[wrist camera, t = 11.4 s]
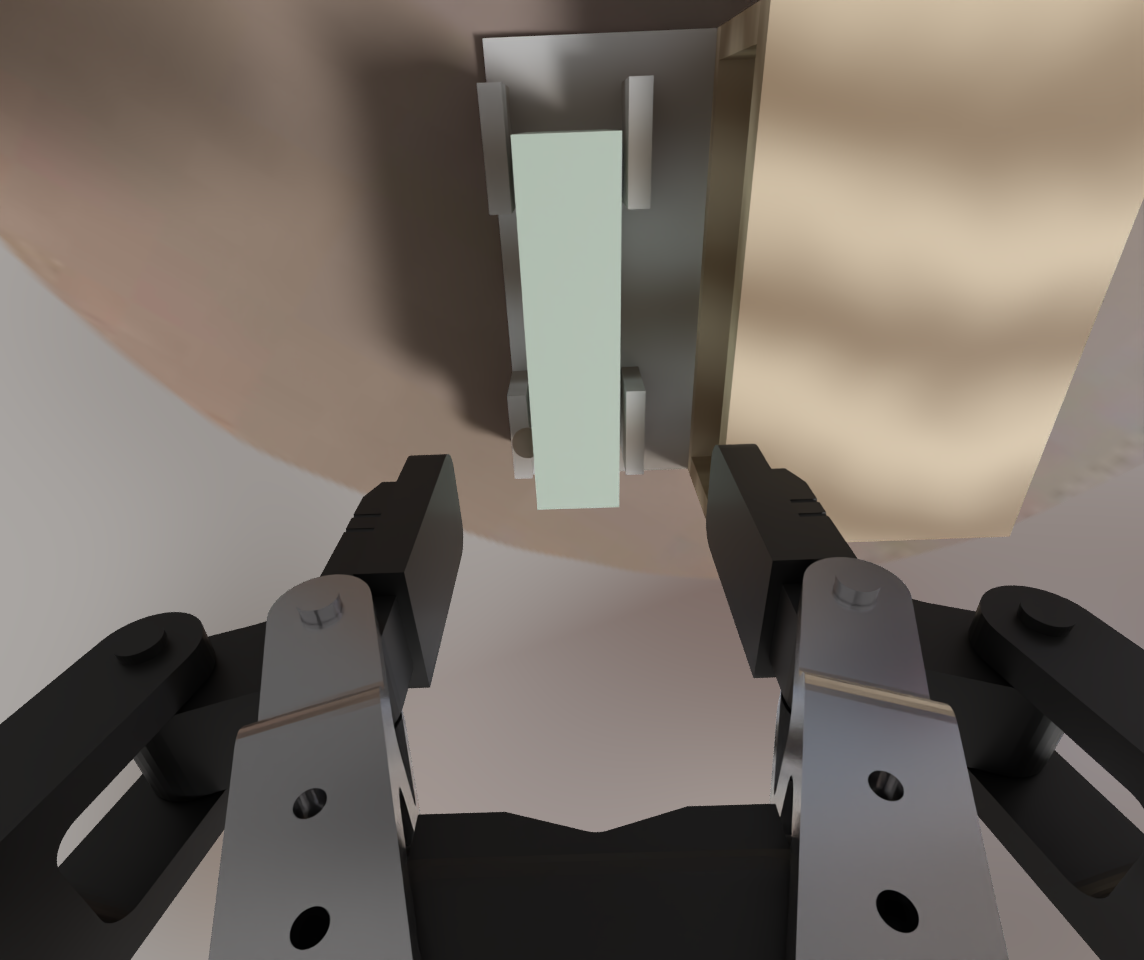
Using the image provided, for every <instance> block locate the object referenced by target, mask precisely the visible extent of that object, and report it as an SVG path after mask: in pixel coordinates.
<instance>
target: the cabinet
mask: <svg viewBox="0 0 1144 960" xmlns="http://www.w3.org/2000/svg"><path fill="white" fill-rule="evenodd" d="M482 39H483V50H484V61H485V72H486V83H477V92H478V102H479V112H480V123H481V133H482V143H483V154H484V164H485V174H486V184H487V195H488V205H489V215H498V217H499V228H500V239H501V250H502V261H503V272H504V283H505V294H506V305H507V317H508V328H509V339H510V350H511V361H512V375H511V380H510V385H509V389H508V394H507V401H508V412H509V422H510V432H511V443H512V440H513V437H514V435H515V433H516V432H517V431H518V430H520V429H522V428H532V426H531V412H530V398H529V384H528V370H527V356H526V343H525V329H524V315H523V301H522V287H521V273H520V259H519V245H518V231H517V217H516V204H515V190H514V176H513V162H512V148H511V135H512V134H518V133H525V132H546V131H573V130H600V129H608V130H621V131H622V214H621V337H620V460H619V471H625V473H626V475H633V474H644V470H667V469H688V471H689V473H690V476H691V479H692V482H693V485H694V487H695V490H696V493H697V496H698V499H699V501H700V504H701V507H702V510H703V513H704V516H705V518H706V513H707V502H708V490H709V479H710V468H711V458H712V452H713V448H714V446H715V445H728V444H756V445H757V446H758V447H759V449H760V451H761V452H762V454H763V456H764V457H765V459H766V461H767V462H768V464H769V466H770V467H771V469H776V468H786V469H787V470H789V471H790V472H792V473H793V474H795V475H796V476H798V477H799V478H801V479H802V480H804V481H805V482H806V483H807V484H808V486H809V487H810V489H811V490H812V492H813V493H814V495H815V496H816V498H817V502H820V504H821V505H822V507H823V508H824V510H825V511H826V516H829V517H830V519H831V520H832V522H833V523H834V525H835V526H836V528H837V529H838V531H839V532H840V534H841V535H842V536H843V538H844V539H845V541H846V542H866V541H895V540H923V539H952V538H980V537H1005V536H1006V537H1008V536H1010V534H1011V531H1012V529H1013V526H1014V524H1015V521H1016V519H1017V516H1018V514H1019V511H1020V509H1021V506H1022V504H1023V501H1024V499H1025V496H1026V494H1027V491H1028V488H1029V486H1030V483H1031V481H1032V478H1033V476H1034V473H1035V471H1036V468H1037V466H1038V463H1039V461H1040V458H1041V456H1042V453H1043V451H1044V448H1045V446H1046V443H1047V441H1048V438H1049V435H1050V433H1051V430H1052V428H1053V425H1054V423H1055V420H1056V418H1057V415H1058V413H1059V410H1060V408H1061V405H1062V403H1063V400H1064V398H1065V395H1066V393H1067V390H1068V388H1069V385H1070V382H1071V380H1072V377H1073V375H1074V372H1075V370H1076V367H1077V365H1078V362H1079V360H1080V357H1081V355H1082V352H1083V350H1084V347H1085V345H1086V342H1087V340H1088V337H1089V334H1090V332H1091V329H1092V327H1093V324H1094V322H1095V319H1096V317H1097V314H1098V312H1099V309H1100V307H1101V304H1102V302H1103V299H1104V297H1105V294H1106V292H1107V289H1108V287H1109V284H1110V281H1111V279H1112V276H1113V274H1114V271H1115V269H1116V266H1117V264H1118V261H1119V259H1120V256H1121V254H1122V251H1123V249H1124V246H1125V244H1126V241H1127V239H1128V236H1129V234H1130V231H1131V228H1132V226H1133V223H1134V221H1135V218H1136V216H1137V213H1138V211H1139V208H1140V206H1141V203H1142V201H1143V198H1144V0H760V1H758V2H757V3H755V4H754V5H752V6H750V7H749V8H747V9H746V10H744V11H743V12H741V13H740V14H738V15H737V16H735V17H734V18H732V19H730V20H729V21H727V22H726V23H724V24H723V25H721V26H720V27H718V28H704V29H681V30H659V31H636V32H613V33H591V34H568V35H545V36H523V37H500V38H482ZM512 453H513V463H514V474H515V479H523V478H533V474H535V468H534V457H532V458H523V457H521V456H519V455H518V454H516V452H515V451H514V449H513V446H512Z"/></svg>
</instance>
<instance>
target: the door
mask: <svg viewBox="0 0 1144 960" xmlns="http://www.w3.org/2000/svg"><path fill="white" fill-rule="evenodd" d="M511 148H512V162H513V176H514V190H515V204H516V217H517V231H518V245H519V259H520V273H521V287H522V301H523V315H524V329H525V343H526V356H527V370H528V384H529V398H530V412H531V426H532V428H522V429H520V430H518V431H517V432H516V433H515V435H514V437H513V440H512V446H513V449H514V451H515V452H516V454H518V455H519V456H521V457H523V458H532V457H534V468H535V482H536V495H537V509H538V510H541V509H573V508H604V507H619V460H620V337H621V214H622V131H621V130H608V129H600V130H573V131H546V132H525V133H518V134H512V135H511Z"/></svg>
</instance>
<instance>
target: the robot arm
mask: <svg viewBox="0 0 1144 960" xmlns="http://www.w3.org/2000/svg"><path fill="white" fill-rule="evenodd" d="M706 530H707V539H708V544H709V548H710V551H711V554H712V557H713V560H714V563H715V566H716V569H717V572H718V575H719V578H720V581H721V583H722V586H723V589H724V592H725V595H726V598H727V601H728V604H729V607H730V610H731V613H732V616H733V619H734V622H735V625H736V628H737V630H738V634H739V637H740V640H741V642H742V645H743V648H744V651H745V654H746V657H747V660H748V663H749V666H750V669H751V672H752V675H753V677H754V678H768V677H776V678H777V681H778V683H779V686H780V689H781V692H780V697H779V703H778V708H777V717H776V730H775V742H774V756H773V768H772V780H771V781H772V782H771V793H770V804H752V805H721V806H687V807H684V808H681V809H678V810H674V811H671V812H668V813H664V814H661V815H658V816H655V817H651V818H648V819H645V820H641V821H638V822H635V823H632V824H628V825H625V826H622V827H618V828H615V829H611V830H608V831H604V832H588V831H583V830H579V829H575V828H570V827H567V826H562V825H558V824H554V823H549V822H545V821H541V820H537V819H533V818H529V817H524V816H520V815H515V814H512V813H507V812H489V813H458V814H457V813H456V814H425V815H420V810H419V803H418V797H417V791H416V785H415V779H414V773H413V766H412V760H411V754H410V748H409V742H408V736H407V729H406V723H405V719H404V715H403V711H402V708H403V705H404V701H405V698H406V694H407V691H408V688H424V687H425V688H426V687H427V688H428V687H430V685H431V681H432V677H433V672H434V668H435V664H436V660H437V656H438V652H439V648H440V643H441V639H442V635H443V631H444V627H445V623H446V618H447V614H448V610H449V606H450V602H451V598H452V594H453V589H454V585H455V581H456V577H457V572H458V569H459V564H460V560H461V556H462V550H463V526H462V519H461V512H460V506H459V499H458V493H457V486H456V480H455V473H454V467H453V462H452V459H451V457H450V455H449V454H442V455H414V456H409V457H408V458H407V460H406V463H405V465H404V467H403V469H402V471H401V473H400V475H399V477H398V480H397V482H382V483H380V484H379V485H378V486H377V487H375V488H374V489H373V490H372V491H370V492H369V493H368V494H367V495H365V496H364V497H363V498H362V500H361V502H360V504H359V506H358V508H357V509H356V511H355V513H354V518H352V519H351V521H350V522H349V524H348V526H347V528H346V532H344V533H343V535H342V537H341V539H340V541H339V543H338V545H337V546H336V548H335V550H334V552H333V554H332V555H331V557H330V559H329V561H328V563H327V565H326V567H325V569H324V570H323V572H322V574H321V576H320V577H317V578H314V579H310V580H308V581H305V582H303V583H301V584H299V585H297V586H295V587H293V588H292V589H290V590H289V591H287V592H286V593H284V594H283V595H282V596H281V597H280V598H279V599H278V600H277V601H276V602H275V603H274V604H273V606H272V607H271V609H270V611H269V613H268V616H267V621H266V622H263V623H259V624H256V625H252V626H249V627H245V628H241V629H236V630H233V631H229V632H225V633H221V634H217V635H213V636H209V637H208V636H207V634H206V632H205V630H204V627H203V625H202V623H201V621H200V620H199V619H198V618H197V617H195V616H193V615H191V614H187V613H181V612H171V613H170V612H169V613H162V614H157V615H152V616H148V617H145V618H143V619H140V620H137V621H135V622H132V623H130V624H128V625H126V626H124V627H122V628H120V629H118V630H117V631H115V632H114V633H112V634H110V635H109V636H107V637H106V638H105V639H103V640H102V641H101V642H100V643H98V644H97V645H96V646H95V647H93V648H92V649H91V650H90V651H89V652H87V653H86V654H85V655H84V656H83V657H81V658H80V659H79V660H78V661H76V662H75V663H74V664H73V665H72V666H70V667H69V668H68V669H67V670H66V671H64V672H63V673H62V674H61V675H59V676H58V677H57V678H56V679H55V680H53V681H52V682H51V683H50V684H49V685H47V686H46V687H45V688H44V689H42V690H41V691H40V692H39V693H38V694H36V695H35V696H34V697H33V698H32V699H30V700H29V701H28V702H27V703H26V704H24V705H23V706H22V707H21V708H19V709H18V710H17V711H16V712H15V713H14V714H12V715H11V716H10V717H9V718H7V719H6V720H5V721H4V722H2V723H1V724H0V960H131V958H132V957H133V955H134V954H135V953H136V951H137V950H138V948H139V947H140V946H141V944H142V943H143V941H144V940H145V939H146V937H147V936H148V935H149V933H150V932H151V930H152V929H153V927H154V926H155V925H156V923H157V922H158V921H159V919H160V918H161V917H162V915H163V914H164V912H165V911H166V910H167V908H168V907H169V905H170V904H171V903H172V901H173V900H174V898H175V897H176V896H177V894H178V893H179V891H180V890H181V889H182V887H183V886H184V885H185V883H186V882H187V880H188V879H189V878H190V876H191V875H192V873H193V872H194V871H195V869H196V868H197V867H198V865H199V864H200V862H201V861H202V859H203V858H204V857H205V855H206V854H207V853H208V851H209V850H210V848H211V847H212V846H213V844H214V843H215V842H216V840H217V839H218V837H219V836H220V835H221V833H222V832H223V830H224V838H223V846H222V854H221V863H220V871H219V878H218V887H217V895H216V903H215V911H214V919H213V927H212V936H211V944H210V953H209V960H1009V958H1008V953H1007V949H1006V944H1005V940H1004V935H1003V930H1002V926H1001V922H1000V917H999V912H998V908H997V903H996V898H995V894H994V889H993V885H992V880H991V875H990V871H989V866H988V862H987V857H986V852H985V848H984V843H983V839H982V834H981V829H980V825H979V820H978V816H979V818H980V819H981V820H982V821H983V822H984V823H985V825H986V826H987V827H988V828H989V829H990V830H991V832H992V833H993V834H994V835H995V836H996V838H997V839H998V840H999V841H1000V842H1001V843H1002V845H1003V846H1004V847H1005V848H1006V849H1007V850H1008V852H1009V853H1010V854H1011V855H1012V856H1013V857H1014V859H1015V860H1016V861H1017V862H1018V863H1019V864H1020V866H1021V867H1022V868H1023V869H1024V870H1025V871H1026V873H1027V874H1028V875H1029V876H1030V877H1031V879H1032V880H1033V881H1034V882H1035V883H1036V884H1037V886H1038V887H1039V888H1040V889H1041V890H1042V891H1043V893H1044V894H1045V895H1046V896H1047V897H1048V899H1049V900H1050V901H1051V902H1052V903H1053V904H1054V906H1055V907H1056V908H1057V909H1058V910H1059V911H1060V913H1061V914H1062V915H1063V916H1064V917H1065V919H1066V920H1067V921H1068V922H1069V923H1070V924H1071V926H1072V927H1073V928H1074V929H1075V930H1076V931H1077V933H1078V934H1079V935H1080V936H1081V937H1082V938H1083V940H1084V941H1085V942H1086V943H1087V944H1088V945H1089V946H1090V948H1091V949H1092V950H1093V951H1094V953H1095V954H1096V955H1097V956H1098V957H1099V958H1100V960H1144V834H1143V833H1142V832H1141V831H1140V830H1139V829H1138V828H1137V827H1136V826H1135V825H1134V824H1133V823H1132V822H1131V821H1130V820H1129V819H1127V818H1126V817H1125V816H1124V815H1123V814H1122V813H1121V812H1120V811H1119V810H1118V809H1117V808H1116V807H1115V806H1114V805H1112V804H1111V803H1110V802H1109V801H1108V800H1107V799H1106V798H1105V797H1104V796H1103V795H1102V794H1101V793H1100V792H1099V791H1098V790H1096V789H1095V788H1094V787H1093V786H1092V785H1091V784H1090V783H1089V782H1088V781H1087V780H1086V779H1085V778H1084V777H1083V776H1082V775H1080V774H1079V773H1078V772H1077V771H1076V770H1075V769H1074V768H1073V767H1072V766H1071V765H1070V764H1069V763H1068V762H1067V761H1066V760H1065V759H1063V758H1062V757H1061V756H1060V755H1059V754H1058V753H1057V752H1056V751H1055V748H1056V746H1057V744H1058V743H1059V741H1060V739H1061V737H1062V736H1063V734H1064V733H1065V734H1066V735H1068V736H1069V737H1070V738H1071V739H1072V740H1073V741H1074V742H1075V743H1076V744H1077V745H1079V746H1080V747H1081V748H1082V749H1083V750H1084V751H1085V752H1086V753H1088V754H1089V755H1090V756H1091V757H1092V758H1093V759H1094V760H1095V761H1096V762H1098V763H1099V764H1100V765H1101V766H1102V767H1103V768H1104V769H1105V770H1106V771H1108V772H1109V773H1110V774H1111V775H1112V776H1113V777H1114V778H1115V779H1116V780H1118V781H1119V782H1120V783H1121V784H1122V785H1123V786H1124V787H1125V788H1127V789H1128V790H1129V791H1130V792H1131V793H1132V794H1133V795H1134V796H1135V797H1136V799H1137V800H1138V801H1139V802H1140V804H1141V805H1142V807H1143V808H1144V650H1143V649H1142V648H1141V647H1139V646H1138V645H1136V644H1135V643H1133V642H1132V641H1130V640H1129V639H1128V638H1126V637H1124V636H1123V635H1122V634H1120V633H1119V632H1117V631H1116V630H1114V629H1113V628H1112V627H1110V626H1108V625H1107V624H1106V623H1104V622H1103V621H1102V620H1100V619H1099V618H1097V617H1096V616H1094V615H1093V614H1091V613H1090V612H1089V611H1087V610H1086V609H1084V608H1082V607H1081V606H1079V605H1078V604H1076V603H1074V602H1072V601H1070V600H1068V599H1066V598H1063V597H1061V596H1059V595H1056V594H1053V593H1050V592H1047V591H1044V590H1040V589H1036V588H1031V587H1025V586H1001V587H996V588H993V589H990V590H989V591H987V592H986V593H985V594H984V595H983V596H982V598H981V600H980V603H979V605H978V608H977V610H976V612H975V611H970V610H964V609H959V608H953V607H947V606H942V605H936V604H931V603H926V602H921V601H918V600H914V599H912V597H911V594H910V591H909V590H908V588H907V586H906V585H905V584H904V583H903V582H902V581H901V580H900V579H899V578H898V577H897V576H896V575H894V574H893V573H891V572H890V571H888V570H886V569H884V568H883V567H881V566H878V565H876V564H873V563H871V562H867V561H864V560H860V559H857V557H856V556H855V554H854V553H853V551H852V550H851V548H850V547H849V545H848V544H847V542H846V541H845V539H844V538H843V536H842V535H841V534H840V532H839V531H838V529H837V528H836V526H835V525H834V523H833V522H832V520H831V519H830V517H829V516H826V511H825V510H824V508H823V507H822V505H821V504H820V502H817V498H816V496H815V495H814V493H813V492H812V490H811V489H810V487H809V486H808V484H807V483H806V482H805V481H804V480H802V479H801V478H799V477H798V476H796V475H795V474H793V473H792V472H790V471H789V470H787V469H786V468H776V469H771V467H770V466H769V464H768V462H767V461H766V459H765V457H764V456H763V454H762V452H761V451H760V449H759V447H758V446H757V445H756V444H728V445H715V446H714V448H713V452H712V458H711V468H710V479H709V490H708V502H707V513H706ZM132 759H134V760H135V762H136V764H137V765H138V767H139V768H140V770H141V771H142V773H143V774H142V775H141V776H140V778H139V779H138V780H137V781H136V782H135V783H134V784H133V785H132V786H131V787H130V789H129V790H128V791H127V792H126V793H125V794H124V795H123V796H122V797H121V799H120V800H119V801H118V802H117V803H116V804H115V805H114V806H113V807H112V809H111V810H110V811H109V812H108V813H107V814H106V815H105V816H104V817H103V818H102V820H101V821H100V822H99V823H98V824H97V825H96V826H95V827H94V828H93V830H92V831H91V832H90V833H89V834H88V835H87V836H86V837H85V838H84V839H83V841H82V842H81V843H80V844H79V845H78V846H77V847H76V848H75V849H74V850H73V852H72V853H71V854H70V855H69V856H68V857H67V858H66V859H65V861H64V862H63V863H62V864H61V865H60V866H59V867H58V866H57V853H58V849H59V846H60V843H61V841H62V839H63V837H64V835H65V833H66V832H67V830H68V829H69V827H70V826H71V825H72V823H73V822H74V821H75V820H76V819H77V818H78V817H79V816H80V814H81V813H82V812H83V811H84V810H85V809H86V808H87V807H88V806H89V805H90V804H91V803H92V801H94V800H95V798H96V797H97V796H98V795H99V794H100V793H101V792H102V791H103V790H104V789H105V788H106V787H107V786H108V785H109V784H110V783H111V782H112V780H113V779H114V778H115V777H116V776H117V775H118V774H119V773H120V772H121V771H122V770H123V769H124V768H125V767H126V766H127V764H128V763H129V762H130V761H131V760H132ZM977 815H978V816H977Z"/></svg>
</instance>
